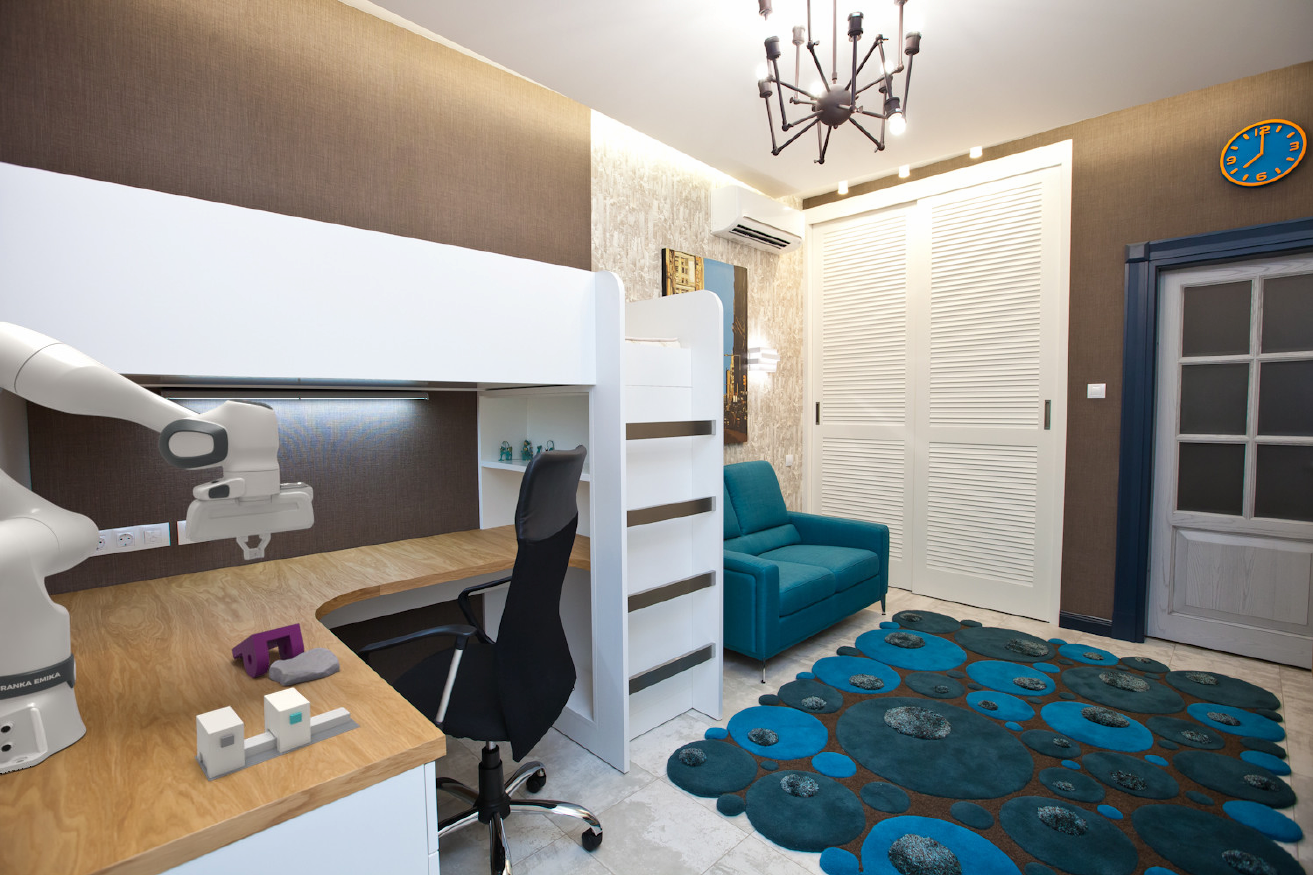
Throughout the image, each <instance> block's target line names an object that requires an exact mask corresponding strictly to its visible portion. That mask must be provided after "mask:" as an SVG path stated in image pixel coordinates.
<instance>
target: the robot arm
mask: <svg viewBox="0 0 1313 875" xmlns="http://www.w3.org/2000/svg"><path fill="white" fill-rule="evenodd" d="M3 389H4V390H7V391H8V392H11V393H13V394H16V395H17V396H19V397H21V398H24V399H26V400H27V401H30V402H33V403H34V404H37V405H40V406H43V407H45V408H49V409H52V410H56V411H60V412H62V413H63V412H64V413H67V414H68V413H69V414H73V415H74V414H75V415H83V416H99V417H107V418H108V417H109V418H115V419H121V420H125V421H130V422H133V423H137V424H140V425H141V426H145V427H146V428H149V429H151V430H153V431H156V432H158V433H160V434H159V437H158V441H157V445H158V446H157V447H158V452H159V454H160V455H161V457H162V458H163V459H164V460H165V462H166V463H168V464H169V465H170V466H172V467H175V468H176V469H177V468H178V469H182V470H188V471H189V470H191V471H193V470H194V471H196V470H203V469H205V470H206V469H212V468H223V469H222V470H223V471H222V472H223V477H221V478H217V479H214V480H211V481H209V482H205V483H202V484H199V485H196V486H195V487H193V489H192V495H193V497H194V498H195V499H194V500H192V501H191V503H189V506H188V508H187V512H186V517H185V518H186V519H185V537H186V538H187V539H188V540H189V541H190V542H193V543H200V542H208V541H209V542H210V541H216V540H225V539H234V538H236V539H235V541H236V543H237V544H238V545H239V546H240V548H241V550H243V559H244V561H249V560H255V559H262V558H263V559H264V558H265V549H266V547H267V545H268V544H269V543H270V541H271V538H272V535H271V534H273V533H282V532H288V531H289V532H290V531H298V530H306V529H307V530H308V529H311V528H312V527H313V525H314V523H315V516H314V509H313V503H312V502H313V499H314V489H313V487H312V486H311V485H310V484H308V483H305V482H303V481H301V482H300V481H298V482H292V483H291V482H285V483H281V478H280V476H281V475H280V473H281V472H280V471H281V470H280V464H279V462H278V451H279V448H280V438H279V436H280V435H279V427H278V425H279V424H278V420H277V415H276V411H275V409H274V408H273V407H272V406H270V405H269V404H267V403H265V402H262V401H255V400H250V399H249V400H248V399H242V398H241V399H240V398H231V399H227V400H226V401H224V402H223V403H222V404H220V405H219V406H216V407H215V408H212V409H210V410H207V411H204V412H198V411H196V410H193V409H190V408H189V407H186V406H184V405H181V404H179V403H177V402H175V401H172V400H170V399H168V398H166V397H164V396H162V395H161V394H157V393H155V392H153V391H151V390H149V389H147V388H145V387H142V386H141V385H140V384H138V383H136V382H134V381H132V380H131V379H128V378H127V377H125V376H124V375H121V374H120V373H118V372H116V371H115V370H113V369H112V368H110V367H108V366H107V365H105V364H103V363H101V362H99V361H98V360H96V359H95V358H93V357H91V356H89V355H88V354H85V353H84V352H82V351H81V350H78V348H75V347H73V346H71V345H70V344H69V345H68V344H66V343H65V342H62V341H60V340H58V339H55V338H54V337H51V336H48V335H47V334H44V333H41V332H39V331H36V330H34V329H31V328H27V327H25V326H21V325H18V324H15V323H12V322H7V321H0V394H1V393H2V392H3ZM257 535H258V537H259V539H260V543H259V544H258V546H257V547H253V548H249V547H248V545H247V542H249V537H250V536H257ZM100 539H101V535H100V531H99V527H98V525H96V523H95V522H94V521H93V520H92V519H91V518H89V516H86V515H84V514H82V513H78V512H74V511H71V510H68V509H65V508H62V507H60V506H58V505H56V504H54V503H52V502H51V501H49V500H47V499H45V498H43V497H42V496H40V495H39V494H37V493H35V492H33V491H32V490H30V489H29V488H27V487H25V486H23V485H22V484H21V483H19V482H18V481H16V480H15V479H14V478H12V477H11V476H10V475H8V474H7V473H6V472H5V470H3V469H2V468H1V467H0V773H2V774H5V772H6V773H9V772H8V771H10V772H13V771H12V770H15V771H18V769H19V770H22V768H23V769H26V768H30V766H31V767H33V766H36V765H38V764H39V763H41V762H44V760H46V759H47V758H48V757H50V756H52V755H53V754H55V753H57V752H59V751H61V750H63V749H65V748H67V747H69V746H70V745H73V744H74V743H76V742H77V741H78V740H80V739H82V737H84V735H85V734H86V731H87V728H86V726H85V724H84V721H83V720H82V716H81V713H80V711H79V708H78V703H77V700H76V693H75V689H74V687H75V685H76V681H77V666H76V659H75V655H74V653H72V651H71V650H72V648H71V624H70V623H71V619H70V617H71V616H70V615H71V614H70V612H69V611H68V609H67V608H66V607H65V606H63V605H61V604H59V603H56V602H54V601H53V600H52V599H51V597H50V596H49V593H48V591H47V588H46V585H45V578H46V577H49V576H52V575H55V574H58V573H62V572H66V571H67V570H70V569H72V568H74V567H75V566H78V565H79V564H81V563H82V562H84V561H85V560H87V559H88V558H90V557H91V556H92V555H93V554H94V553H95V552H96V550H97V549H98V547H99V544H100Z"/></svg>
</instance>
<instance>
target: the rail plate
mask: <svg viewBox="0 0 1313 875" xmlns="http://www.w3.org/2000/svg"><path fill="white" fill-rule="evenodd" d="M358 728H361V725H360V724H358V723H357V722H356V721H355V720H354V719H353V718H351V712H350V711H348V710H347V708H345V707H344V706H342V707H341V706H340V707H338V708H335V709H332V710H329V711H326V712H323V713H320V714H317V715H315V716H310V732H311V742H310V743H307V744H304V745H301V746H299V747H296V748H293V749H290V750H287V751H285V752H282V753H280V752H279V751H278V750H277V738H276V737H275V736H274V735H273V733H272V732H271V731H269V732H266V733H265V732H263V733H260V734H256V735H254V736H251V737H249V738H246V739H245V738H244V750H245V766H243V767H240V768H238V769H235V770H232V771H229V772H226V773H224V774H221V775H218V776H215V777H213V778H209V776H208V774H207V762H206V760H205V758H204V757H203V761H199V759H198V758H197V755H195V756H193V757H194V758H195V760H196V762H197V763H198V765H199V767H200V768H201V770H202V773H203V774H204V775H205V777H206V779H207V781H208V782H212V781H214V780H217V779H220V778H222V777H225V776H228V775H231V774H234V773H237V772H239V771H242V770H244V769H248V768H250V767H251V768H252V767H253V766H256V765H258V764H261V763H263V762H266V761H270V760H272V759H275V758H278V757H281V756H284V755H286V754H289V753H292V752H295V751H297V750H300V749H303V748H305V747H309V746H310V745H311V746H312V745H314V744H316V743H320V742H322V741H325V740H327V739H330V738H333V737H336V736H338V735H342V734H344V733H347V732H350V731H352V730H355V729H358Z"/></svg>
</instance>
